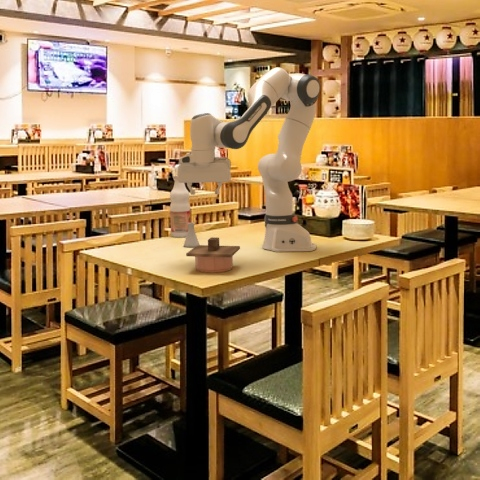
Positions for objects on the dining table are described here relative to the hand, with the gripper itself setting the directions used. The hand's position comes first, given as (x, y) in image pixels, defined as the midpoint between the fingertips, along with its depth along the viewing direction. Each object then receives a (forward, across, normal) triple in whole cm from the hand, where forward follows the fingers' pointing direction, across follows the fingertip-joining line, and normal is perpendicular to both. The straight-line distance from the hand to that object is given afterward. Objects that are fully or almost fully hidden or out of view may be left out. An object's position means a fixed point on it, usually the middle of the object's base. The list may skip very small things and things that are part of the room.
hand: (205, 194), depth 247 cm
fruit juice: (+26, +25, -53) cm, 64 cm away
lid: (+19, -6, +16) cm, 25 cm away
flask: (+26, +13, -27) cm, 40 cm away
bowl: (+25, -6, +16) cm, 30 cm away
